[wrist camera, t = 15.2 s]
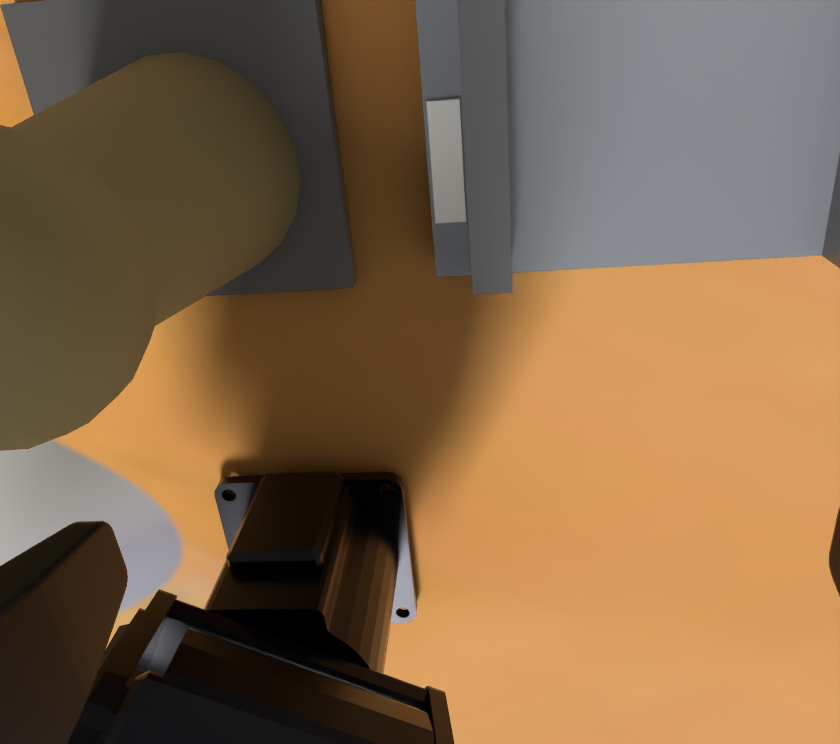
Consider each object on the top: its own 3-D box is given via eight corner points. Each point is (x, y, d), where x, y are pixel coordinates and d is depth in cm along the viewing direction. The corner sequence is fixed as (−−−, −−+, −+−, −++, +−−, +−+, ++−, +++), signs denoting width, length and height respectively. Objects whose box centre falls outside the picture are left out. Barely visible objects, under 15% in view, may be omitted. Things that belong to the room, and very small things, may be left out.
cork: (181, 313, 21) (-68, 568, 12) (36, 135, 19) (-417, 264, 10) (344, 209, 20) (210, 406, 10) (203, 0, 18) (-144, -12, 8)
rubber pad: (356, 281, 21) (353, 287, 21) (101, 294, 22) (91, 302, 21) (316, -26, 18) (311, -27, 17) (13, 5, 18) (0, 4, 18)
